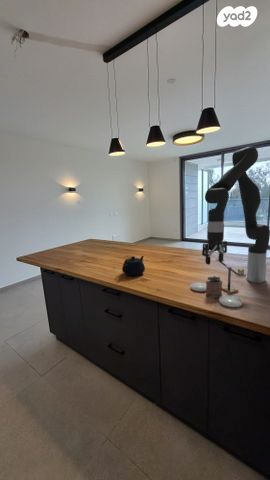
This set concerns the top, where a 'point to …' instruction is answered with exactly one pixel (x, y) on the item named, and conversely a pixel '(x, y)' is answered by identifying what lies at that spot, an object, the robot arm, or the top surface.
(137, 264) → the teapot
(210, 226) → the robot arm
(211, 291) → the lighter
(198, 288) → the dish high side
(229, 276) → the balance
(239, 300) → the dish low side
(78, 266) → the top surface
